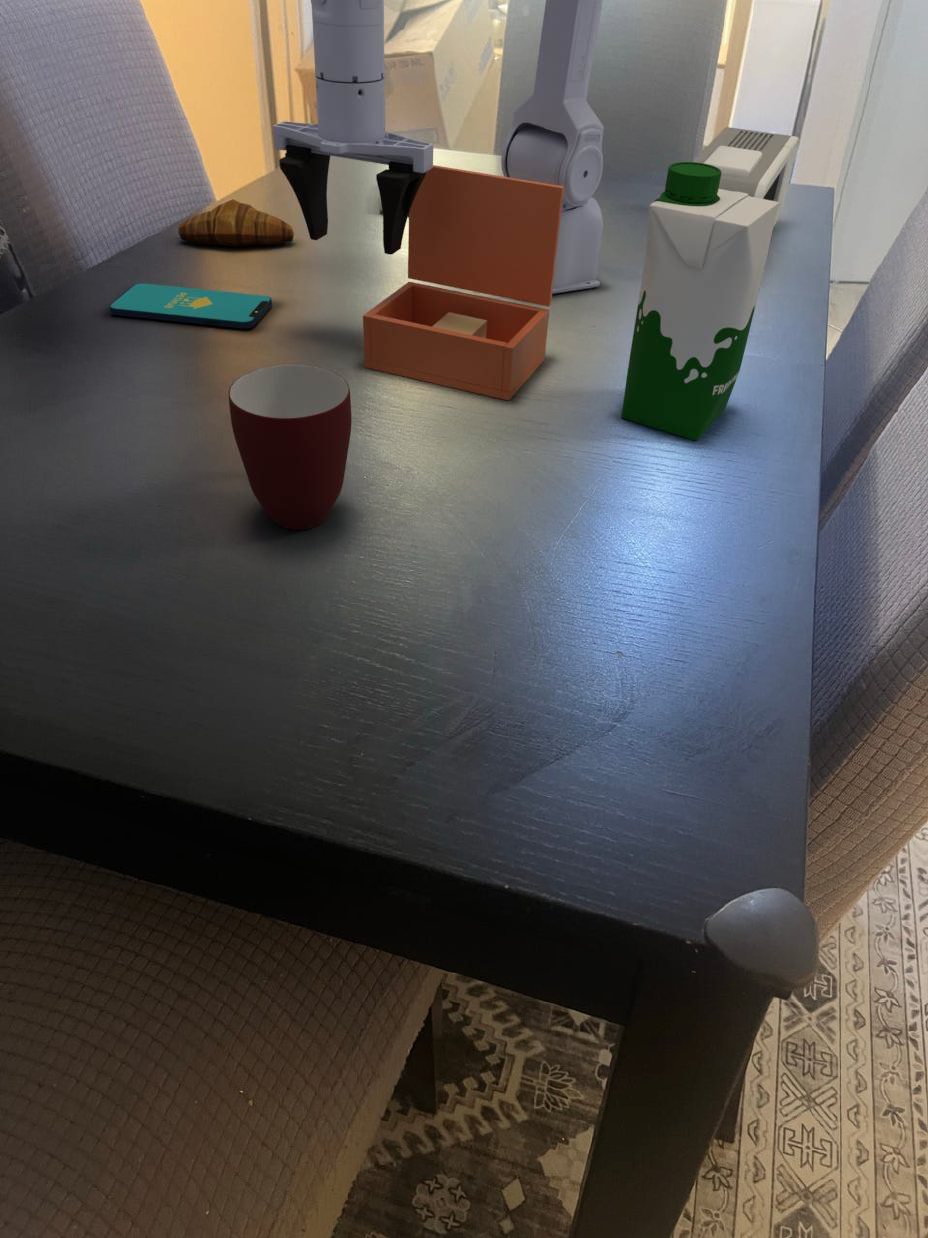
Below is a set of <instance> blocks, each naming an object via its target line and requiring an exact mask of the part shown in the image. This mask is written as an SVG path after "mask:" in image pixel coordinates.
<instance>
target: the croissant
mask: <svg viewBox="0 0 928 1238" xmlns="http://www.w3.org/2000/svg"><path fill="white" fill-rule="evenodd" d="M177 232H178V235H179V239H180V240H181V241H184V242H189V243H193V244H204V245H221V246H228V247H243V246H258V245H259V246H267V245H268V246H269V245H281V244H286V243H290V242H292V241H293V240H294V235H295V233H294V229H293V226H291V225H290V224H288V223H287V222H285V221H284V220H282V219H281V218H278V217H276V216H274V215H271V214H269V213H267V212H264V211H260V210H257V208H255V207H254V206H252V205H250V204H248V203H243V202H240V201H238V200H235V199H230V200H227V201H226V202H223V203H221V204H219V205H217V206H215V207H214V208H212V209H211V210H209V211H205V212H201V213H199V214H196V215H195V216H192V217H189V218H188V219H186V220H184V221H183V222H182V223H180V224H179V225H178V230H177Z"/></svg>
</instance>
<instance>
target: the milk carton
mask: <svg viewBox="0 0 928 1238" xmlns="http://www.w3.org/2000/svg"><path fill="white" fill-rule="evenodd" d="M667 168H668V169H667V174H666V181H665V186H664V191H662V193H660V196H659V197H658V198H656V199H655V200H654V201H653V202H652V203H651V204H649V206H648V217H647V218H648V219H647V237H646V238H647V239H646V252H645V257H644V258H645V259H644V264H643V271H642V278H641V283H640V290H639V296H638V302H637V308H636V315H635V322H634V327H633V332H632V333H633V334H632V340H631V347H630V353H629V359H628V366H627V373H626V380H625V387H624V395H623V401H622V409H621V416H620V417H621V419H625V420H628V421H631V422H635V423H638V424H641V425H644V426H647V427H651V428H653V429H656V430H660V431H664V432H666V433H669V434H673V435H675V436H680V437H682V438H686V439H689V440H692V441H696V442H697V441H698V440H699V439H700V438H701V437H702V436H703V435H704V434H705V432H707V431H708V429H710V427H711V426H712V425H713V424H714V422H716V421H717V419H719V417H720V416H721V415H722V414H724V412H725V411H726V409H727V407H728V403H729V400H730V398H731V395H732V392H733V390H734V387H735V384H736V381H737V379H738V376H739V374H740V370H741V367H742V363H743V360H744V355H745V351H746V346H747V342H748V339H749V335H750V330H751V326H752V322H753V319H754V318H753V317H754V313H755V310H756V305H757V301H758V297H759V294H760V288H761V284H762V280H763V276H764V272H765V269H766V263H767V258H768V254H769V249H770V244H771V241H772V237H773V236H772V235H773V231H774V227H775V226H774V222H775V218H776V214H777V209H778V205H779V202H775V201H770V200H765V199H760V198H755V197H750V196H749V195H748V194H747V193H742V192H737V191H734V192H733V191H727V190H722V189H719V184H720V178H721V170H720V169H719V168H717V167H715V166H712V165H708V164H703V163H696V162H693V161H679V162H674V163H671V164H669V166H668V167H667Z"/></svg>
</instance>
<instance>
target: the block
mask: <svg viewBox="0 0 928 1238" xmlns="http://www.w3.org/2000/svg"><path fill="white" fill-rule="evenodd" d="M432 327H436V328H440V329H445V330H450V331H454V332H459V333H464V334H468V335H473V336H478V337H482V338H486V331H487V320H483V319H478V318H474V317H469V316H464V315H459V314H454V313H450V312H449V313H447V314H446V315H445V316H444V317H443V318H441V319H440V320H439V321H438V322H437V323H436V324H434V325H433V326H432Z"/></svg>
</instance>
